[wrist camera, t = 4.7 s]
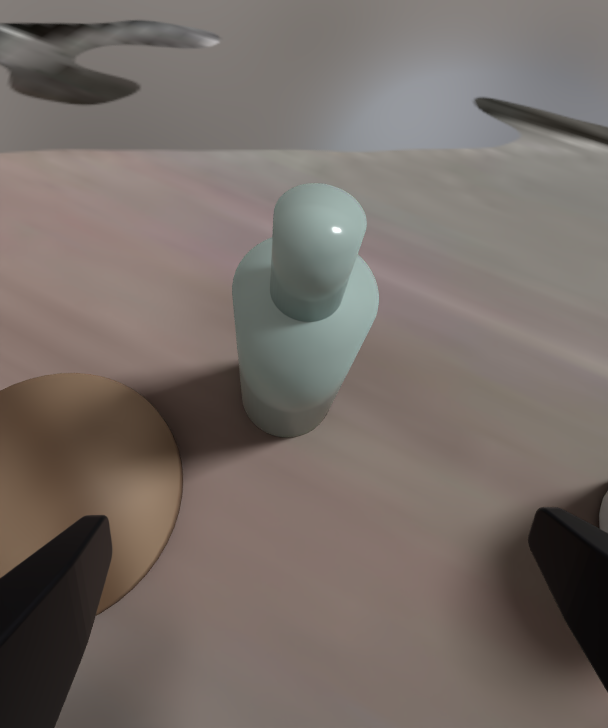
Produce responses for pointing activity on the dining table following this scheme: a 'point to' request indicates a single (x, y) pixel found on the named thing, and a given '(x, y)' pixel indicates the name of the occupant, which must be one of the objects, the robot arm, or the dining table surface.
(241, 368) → the ceramic bottle
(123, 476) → the tan flat disc
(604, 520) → the cup
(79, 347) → the dining table surface
